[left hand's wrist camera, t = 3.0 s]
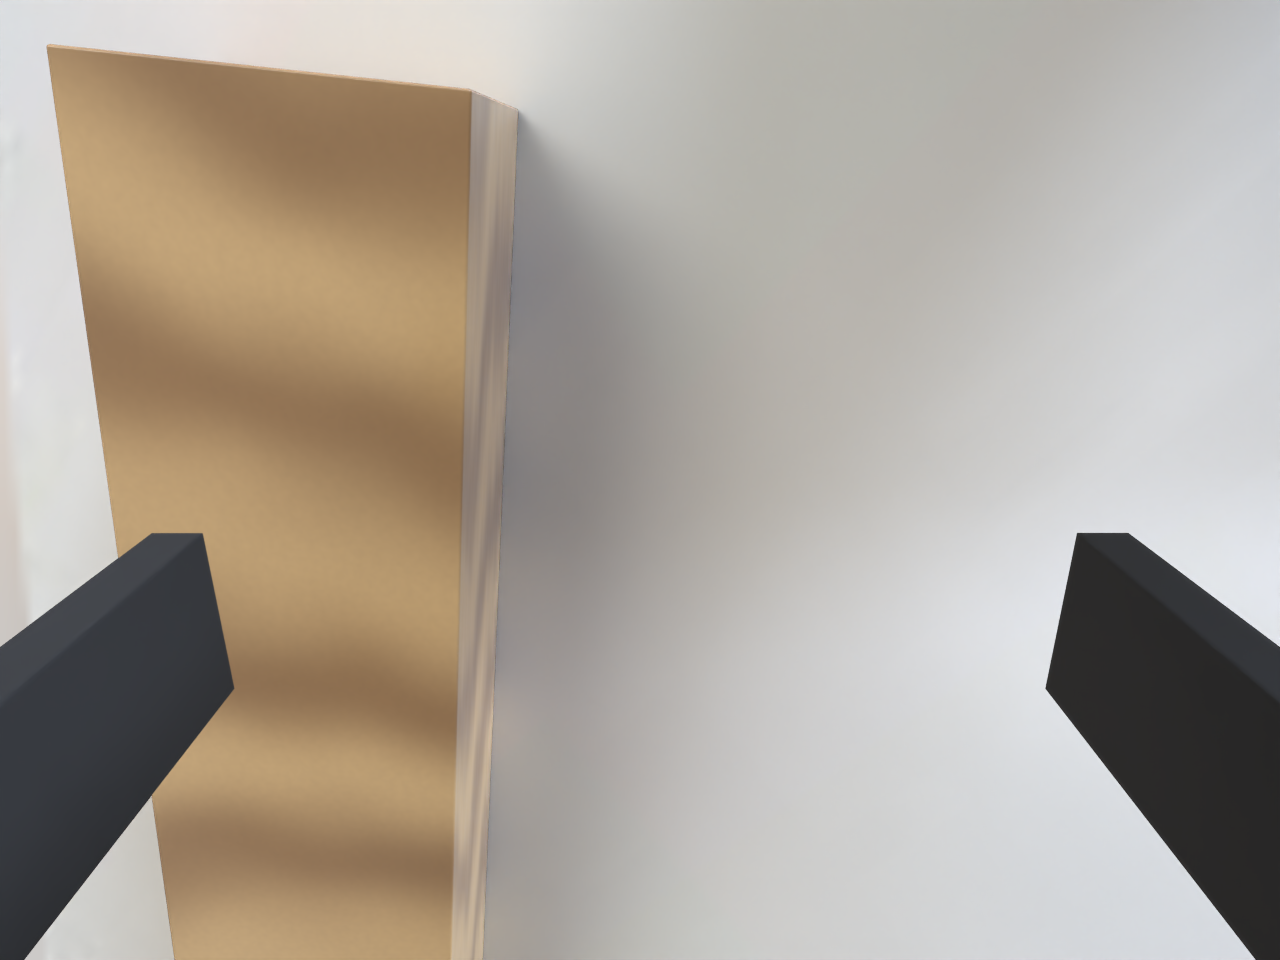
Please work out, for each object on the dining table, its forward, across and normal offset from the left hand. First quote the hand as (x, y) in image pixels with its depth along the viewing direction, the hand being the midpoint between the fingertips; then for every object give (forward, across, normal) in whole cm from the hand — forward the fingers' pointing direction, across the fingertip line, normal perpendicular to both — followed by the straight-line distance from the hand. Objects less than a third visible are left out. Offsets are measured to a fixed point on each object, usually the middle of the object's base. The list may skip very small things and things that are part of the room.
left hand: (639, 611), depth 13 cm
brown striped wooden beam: (+14, -10, -21) cm, 28 cm away
